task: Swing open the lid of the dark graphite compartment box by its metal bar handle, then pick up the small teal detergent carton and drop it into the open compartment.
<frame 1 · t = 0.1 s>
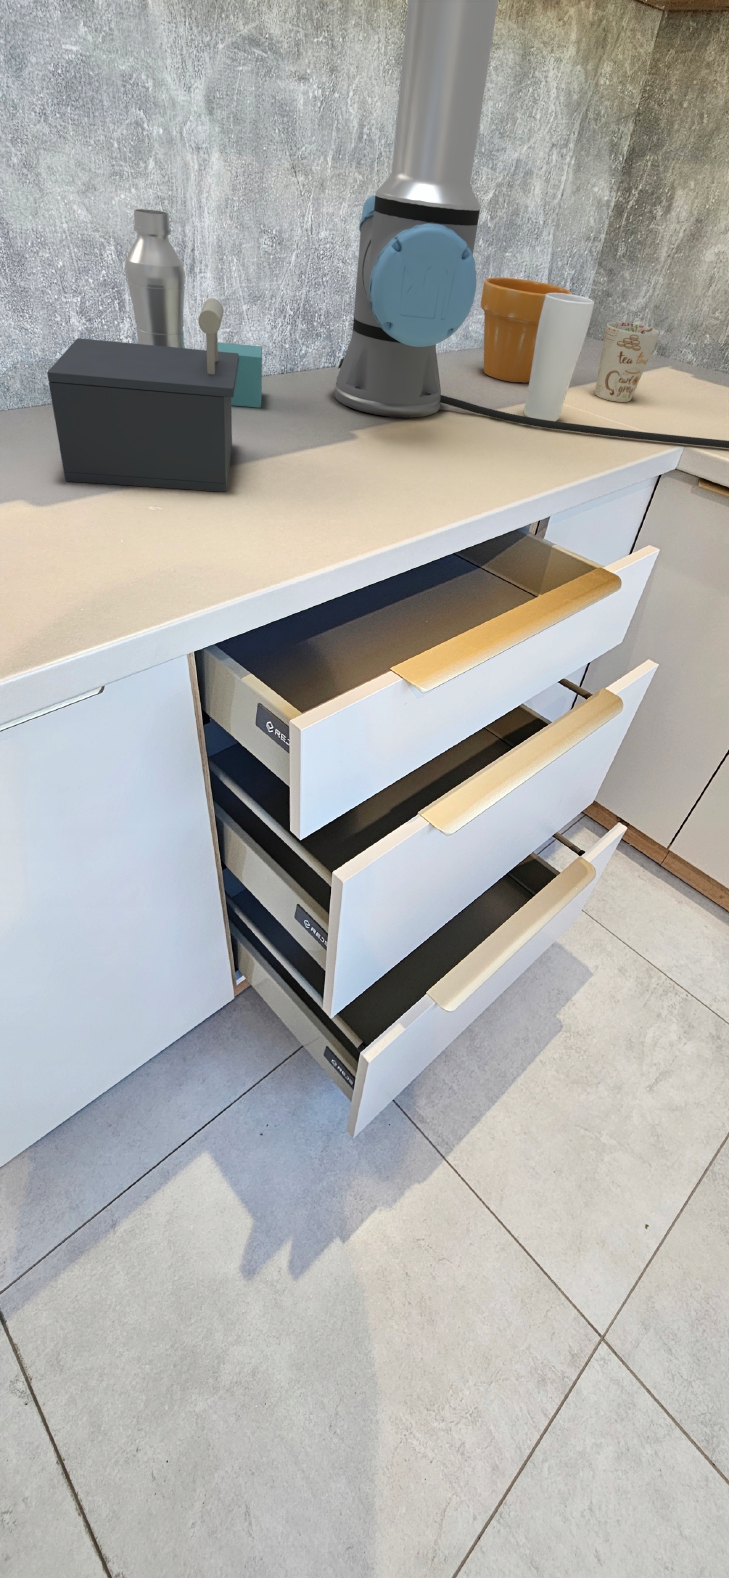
lid: (148, 335, 71), point 12 cm above the countertop, hinge at 0.0°
mug: (613, 395, 124), on the countertop
silver metal bottle: (166, 414, 92), on the countertop
compartment: (155, 463, 79), on the countertop
drinking glass: (540, 419, 108), on the countertop
detergent carton: (239, 399, 99), on the countertop
flower pot: (509, 377, 126), on the countertop
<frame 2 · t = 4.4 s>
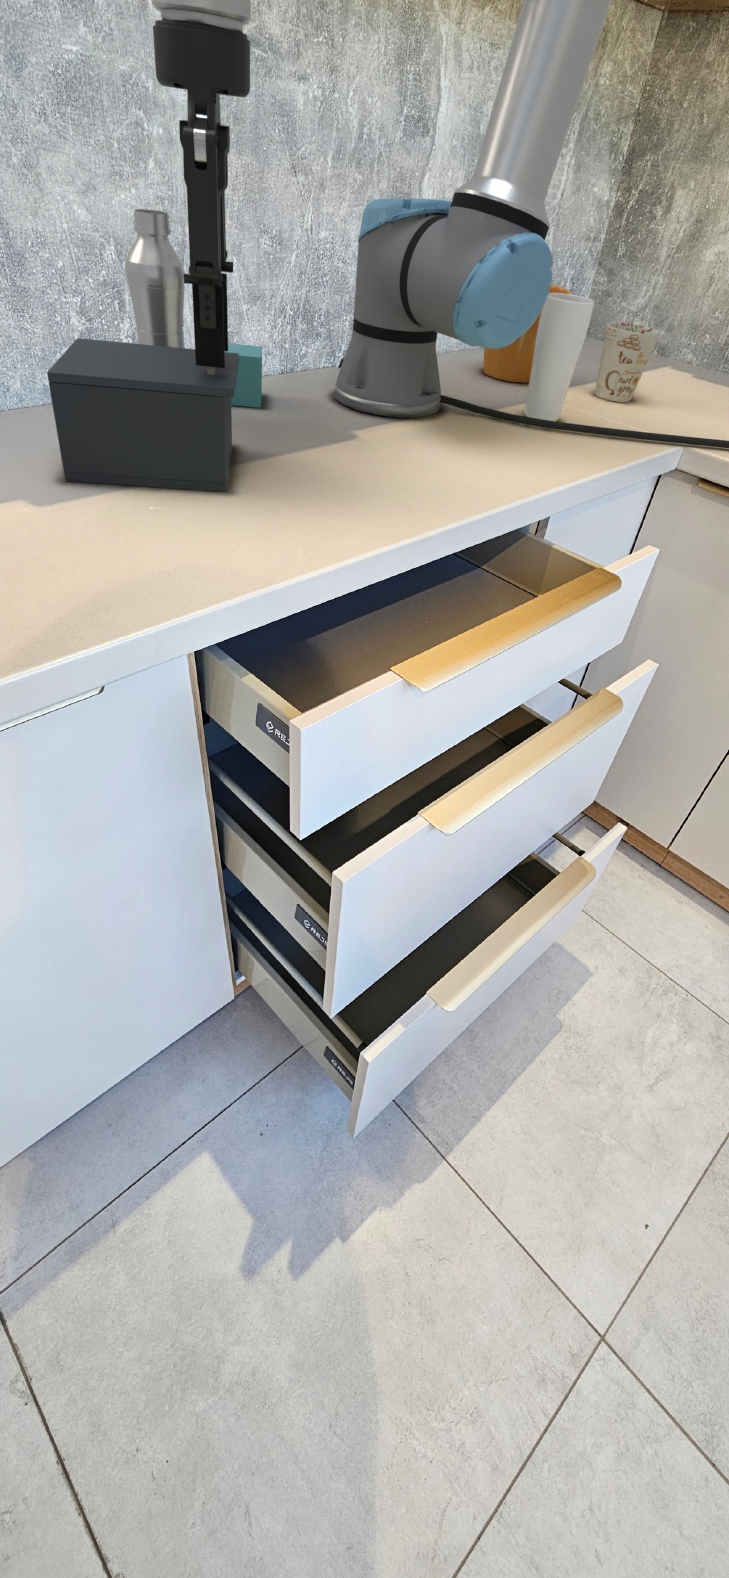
hand: (212, 356, 73), 11 cm above the countertop, tool pointing down, fingers closed on lid, 6 cm apart
lid: (148, 335, 71), point 12 cm above the countertop, hinge at 0.0°, touching gripper
everything else where it was.
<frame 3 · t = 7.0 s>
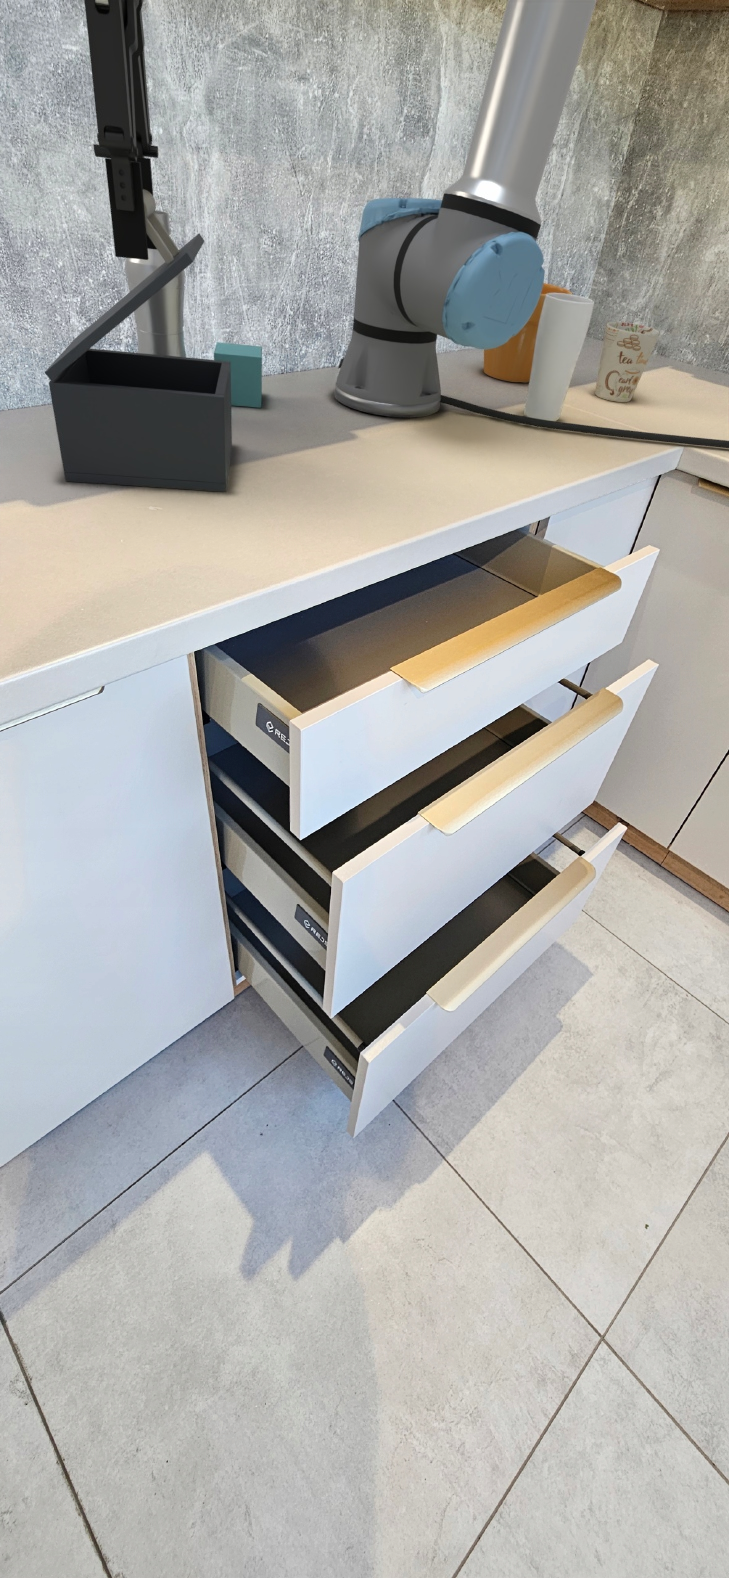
hand: (137, 251, 66), 19 cm above the countertop, tool pointing down, fingers closed on lid, 6 cm apart
lid: (106, 275, 67), point 17 cm above the countertop, hinge at 37.4°, touching gripper
everything else where it was.
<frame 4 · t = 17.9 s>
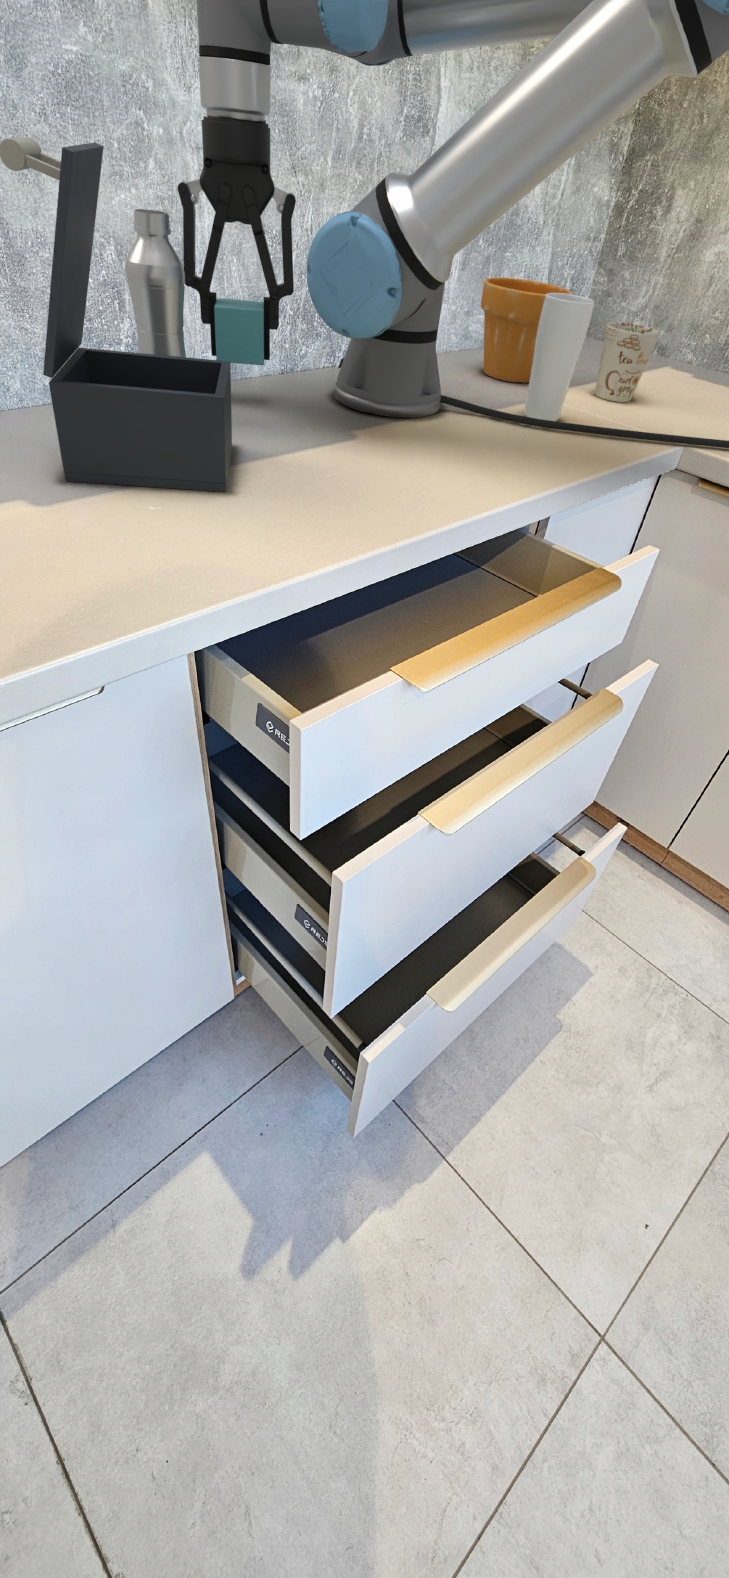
hand: (241, 355, 96), 5 cm above the countertop, tool pointing down, fingers closed on detergent carton, 6 cm apart
lid: (41, 247, 66), point 18 cm above the countertop, hinge at 74.9°
detergent carton: (241, 358, 96), point 5 cm above the countertop, touching gripper
everything else where it was.
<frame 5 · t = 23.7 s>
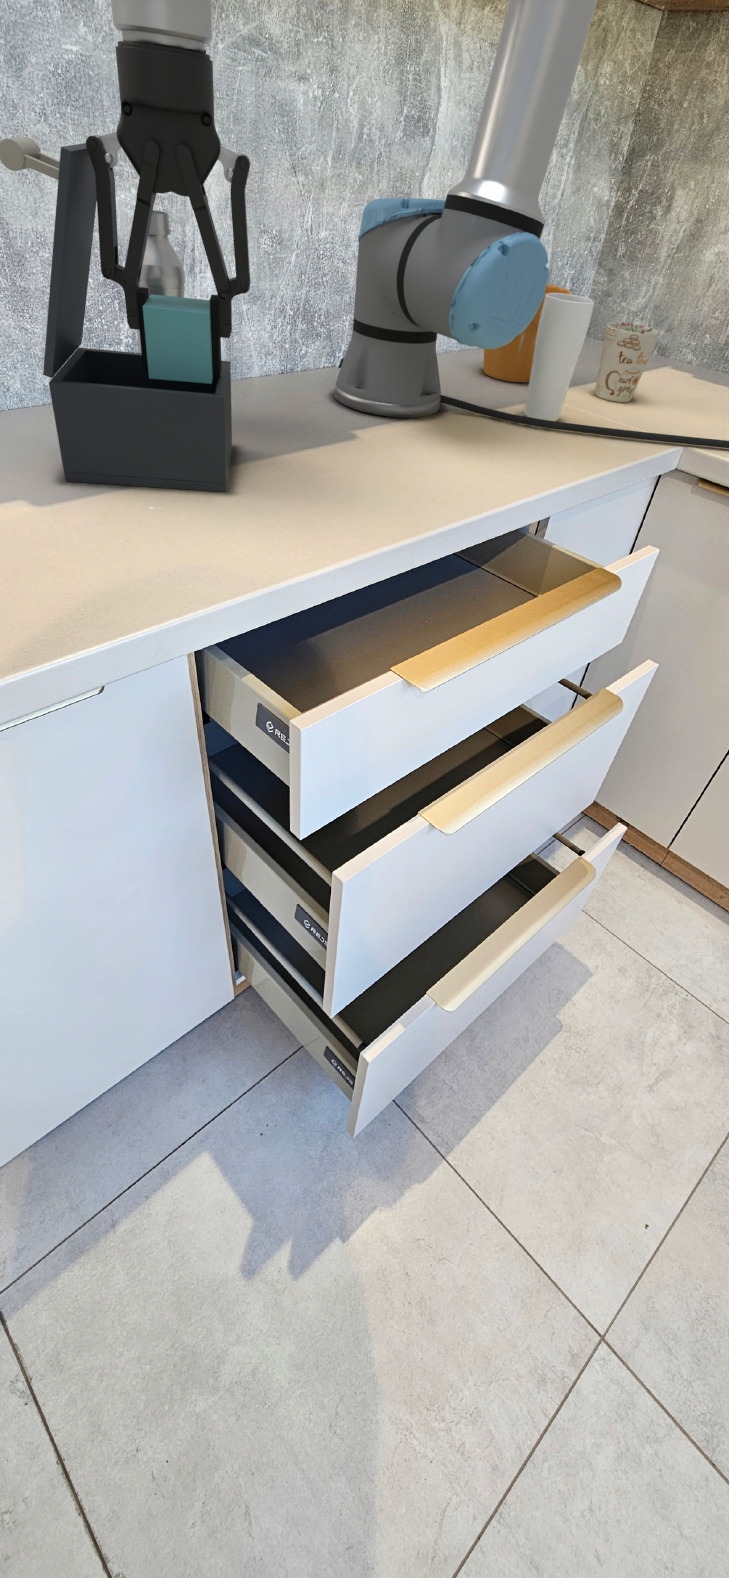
hand: (183, 370, 73), 9 cm above the countertop, tool pointing down, fingers closed on detergent carton, 6 cm apart
lid: (41, 247, 66), point 18 cm above the countertop, hinge at 75.2°
detergent carton: (183, 373, 73), point 9 cm above the countertop, touching gripper
everything else where it was.
when the fingers open (9 cm above the countertop, at t = 30.4 s): detergent carton drops 4 cm, point 5 cm above the countertop.
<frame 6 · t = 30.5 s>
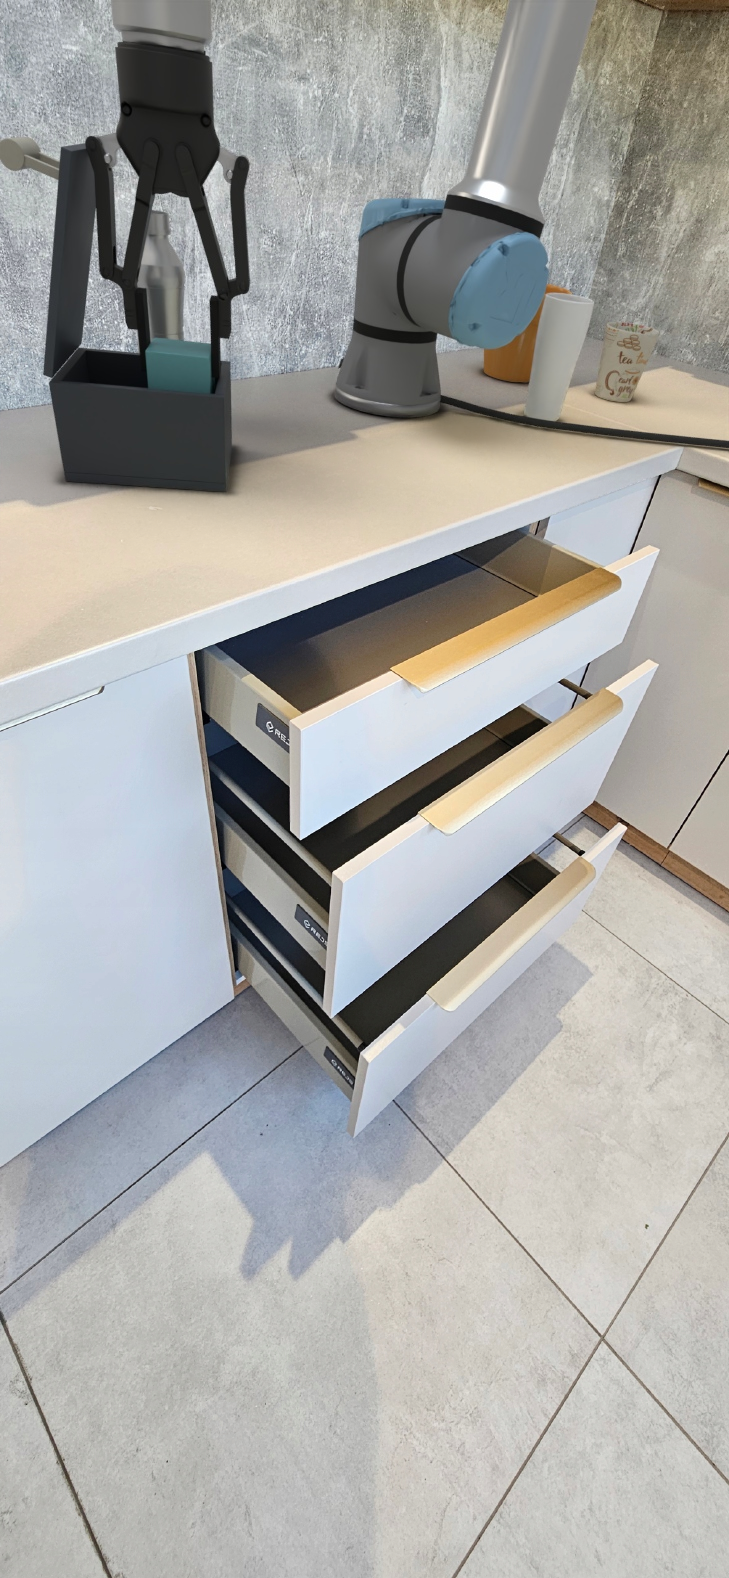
hand: (181, 370, 73), 9 cm above the countertop, tool pointing down, fingers open, 6 cm apart
detergent carton: (184, 413, 76), point 5 cm above the countertop
everything else where it was.
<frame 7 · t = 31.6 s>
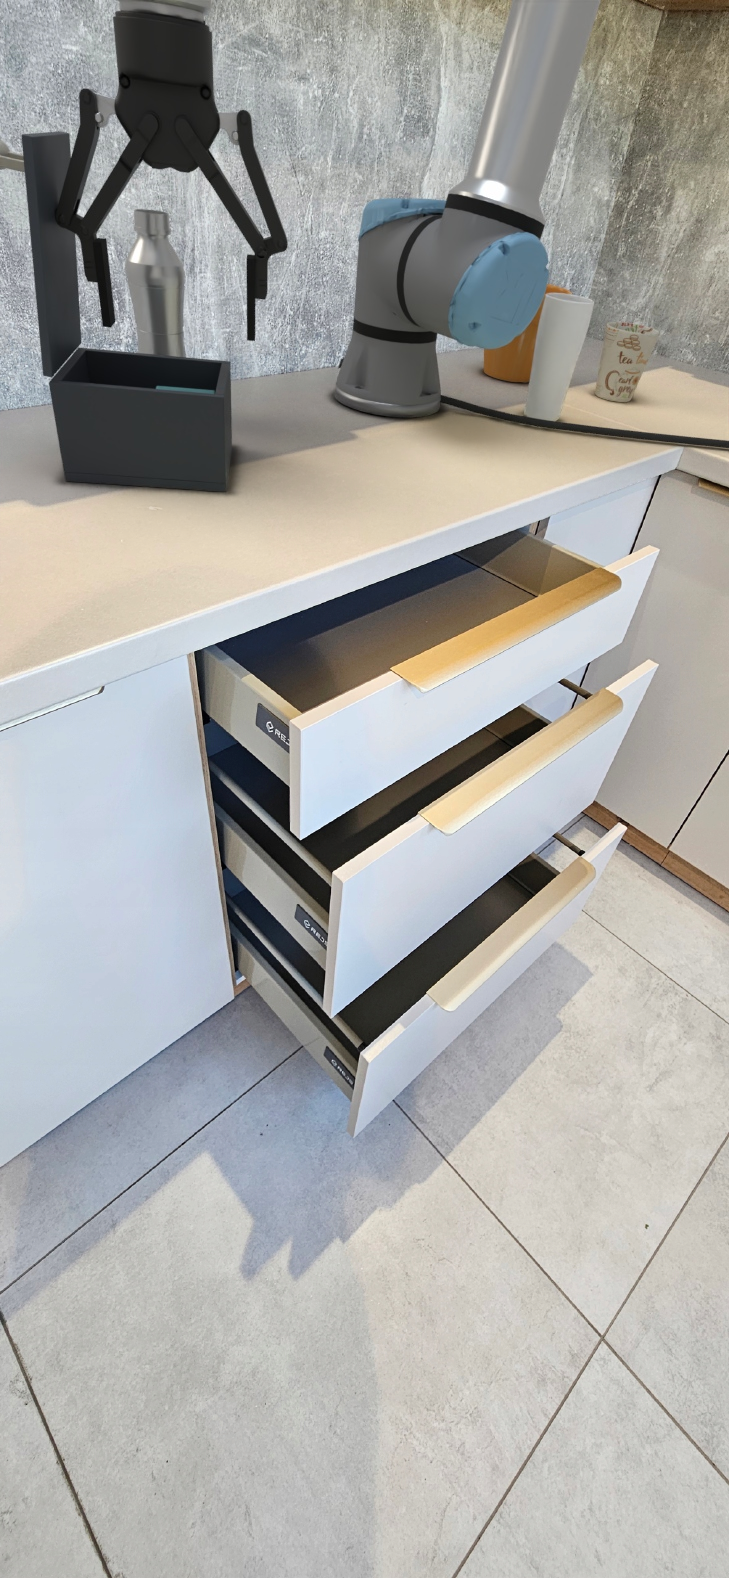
hand: (181, 331, 71), 13 cm above the countertop, tool pointing down, fingers open, 13 cm apart
lid: (24, 248, 66), point 18 cm above the countertop, hinge at 85.0°, touching hand
detergent carton: (187, 457, 79), point 1 cm above the countertop, touching compartment
everything else where it was.
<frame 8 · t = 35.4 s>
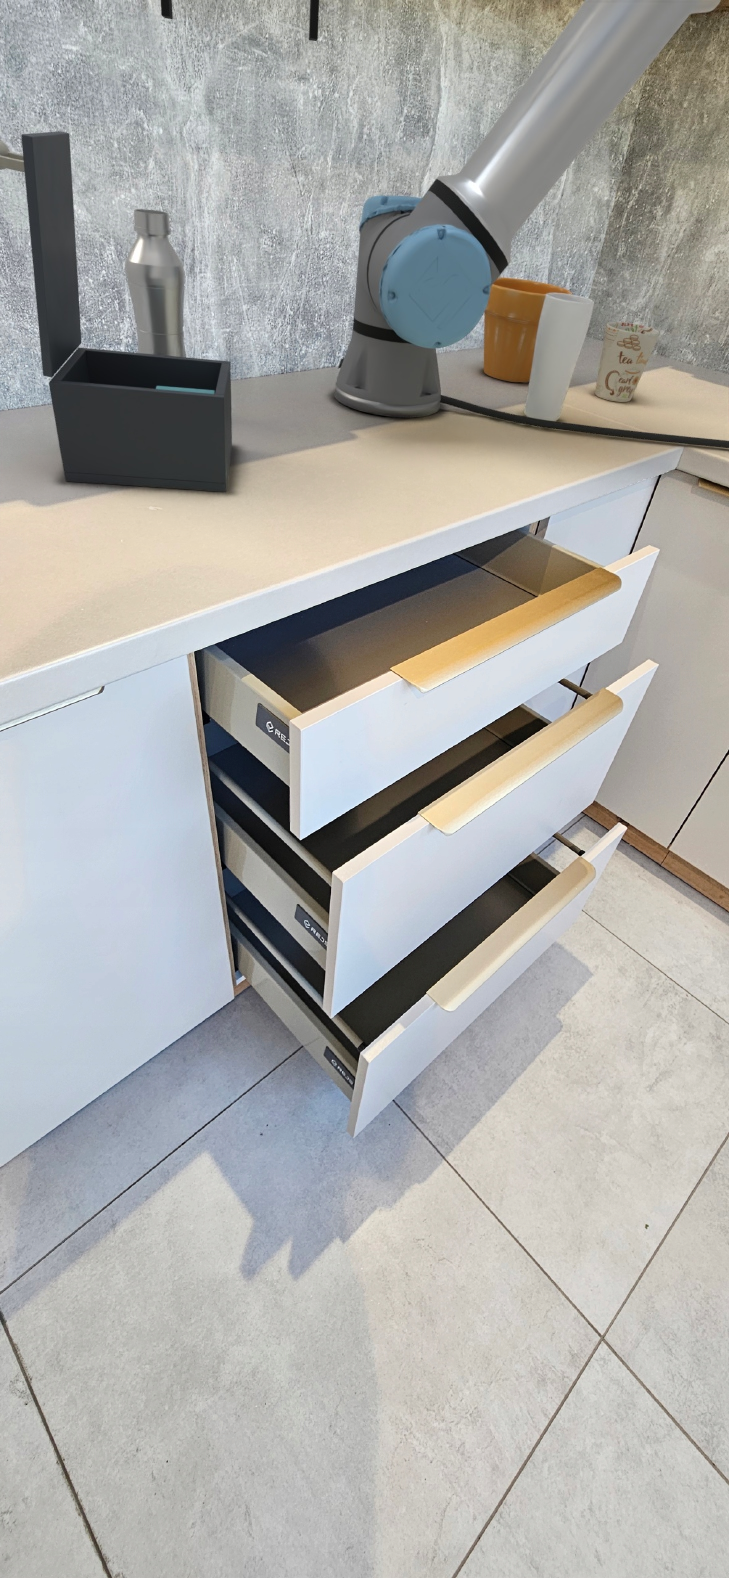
hand: (241, 29, 69), 35 cm above the countertop, tool pointing down, fingers open, 13 cm apart
lid: (24, 248, 66), point 18 cm above the countertop, hinge at 85.0°
everything else where it was.
at the end: lid at +85° (first picture: +0°); detergent carton inside the target area in the compartment (3.5 cm from its centre), point 0.9 cm above the compartment's base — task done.
